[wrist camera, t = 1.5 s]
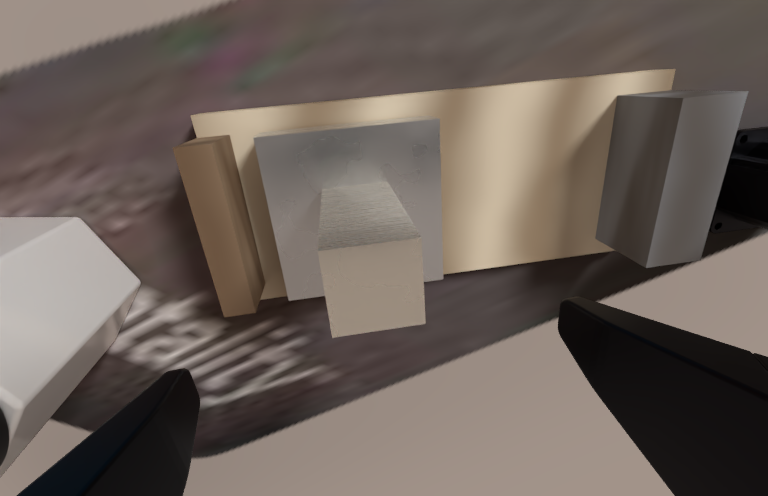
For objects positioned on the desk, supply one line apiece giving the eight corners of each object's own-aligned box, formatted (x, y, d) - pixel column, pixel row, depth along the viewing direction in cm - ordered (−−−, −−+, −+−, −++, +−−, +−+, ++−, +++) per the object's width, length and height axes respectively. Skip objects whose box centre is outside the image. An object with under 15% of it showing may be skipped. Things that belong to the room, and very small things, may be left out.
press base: (652, 70, 21) (755, 65, 16) (621, 238, 25) (695, 277, 20) (200, 113, 19) (153, 123, 14) (247, 289, 23) (224, 347, 18)
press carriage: (428, 115, 18) (508, 140, 10) (433, 262, 22) (497, 371, 13) (260, 132, 18) (201, 173, 9) (292, 282, 21) (268, 409, 13)
